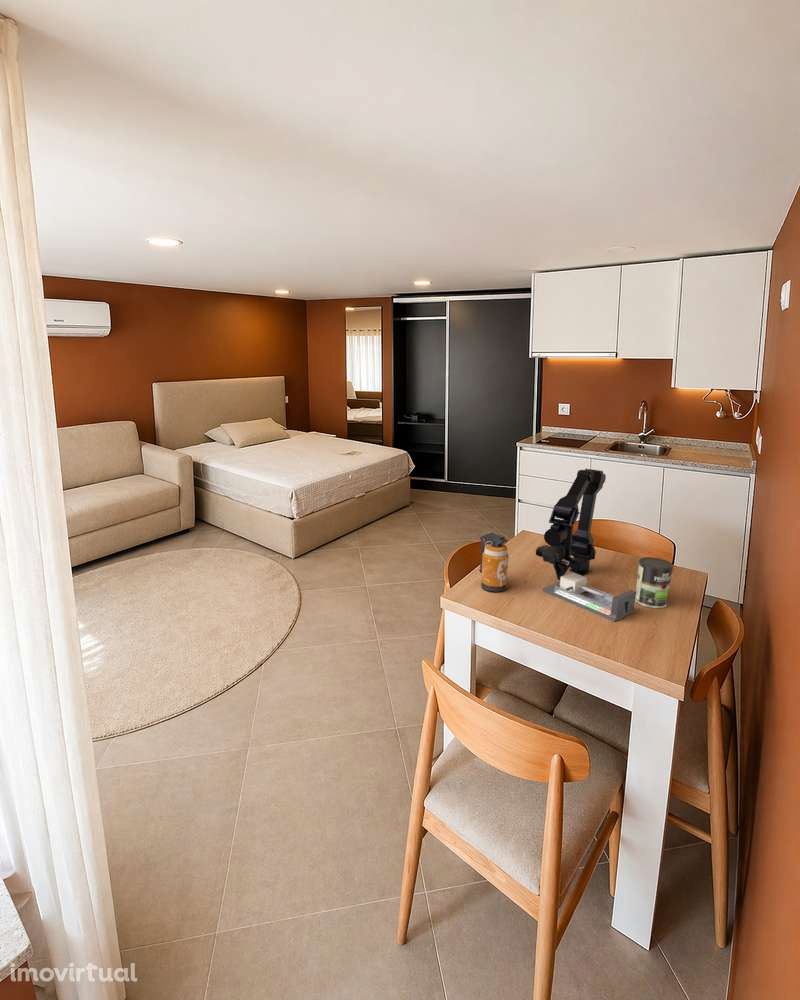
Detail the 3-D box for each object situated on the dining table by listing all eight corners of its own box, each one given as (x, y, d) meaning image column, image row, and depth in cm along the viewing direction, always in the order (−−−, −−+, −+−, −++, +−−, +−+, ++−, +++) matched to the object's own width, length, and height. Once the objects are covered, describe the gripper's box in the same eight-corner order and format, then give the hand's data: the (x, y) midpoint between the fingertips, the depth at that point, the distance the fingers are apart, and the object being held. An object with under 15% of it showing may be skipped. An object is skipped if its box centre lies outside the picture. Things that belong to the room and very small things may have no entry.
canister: (495, 595, 188) (498, 540, 183) (471, 585, 196) (473, 532, 191) (511, 588, 194) (515, 535, 188) (488, 578, 202) (490, 527, 196)
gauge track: (563, 582, 199) (565, 564, 197) (635, 611, 177) (637, 591, 175) (542, 590, 192) (543, 571, 190) (614, 621, 170) (616, 600, 168)
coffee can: (674, 606, 181) (680, 566, 177) (648, 610, 178) (653, 569, 174) (652, 593, 190) (658, 555, 186) (627, 596, 188) (632, 558, 184)
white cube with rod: (570, 585, 193) (572, 572, 191) (608, 600, 181) (610, 586, 180) (553, 592, 187) (555, 578, 186) (591, 608, 176) (593, 593, 174)
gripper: (526, 535, 191) (523, 576, 195) (571, 550, 176) (567, 594, 180) (547, 529, 197) (544, 569, 201) (592, 543, 183) (587, 586, 187)
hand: (559, 579), depth 192 cm, fingers closed
